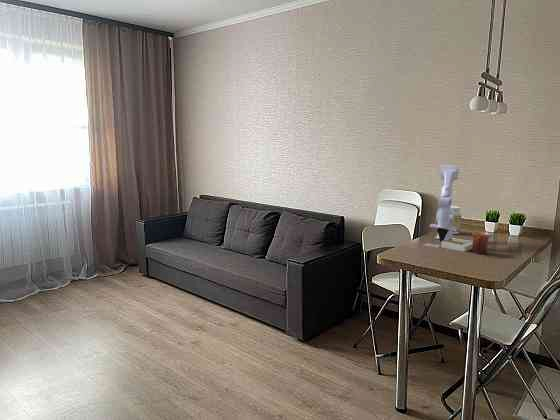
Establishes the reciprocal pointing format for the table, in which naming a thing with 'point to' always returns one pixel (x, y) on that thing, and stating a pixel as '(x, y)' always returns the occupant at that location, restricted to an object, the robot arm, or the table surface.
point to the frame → (458, 247)
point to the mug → (480, 242)
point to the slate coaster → (431, 245)
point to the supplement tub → (456, 219)
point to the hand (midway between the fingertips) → (441, 241)
